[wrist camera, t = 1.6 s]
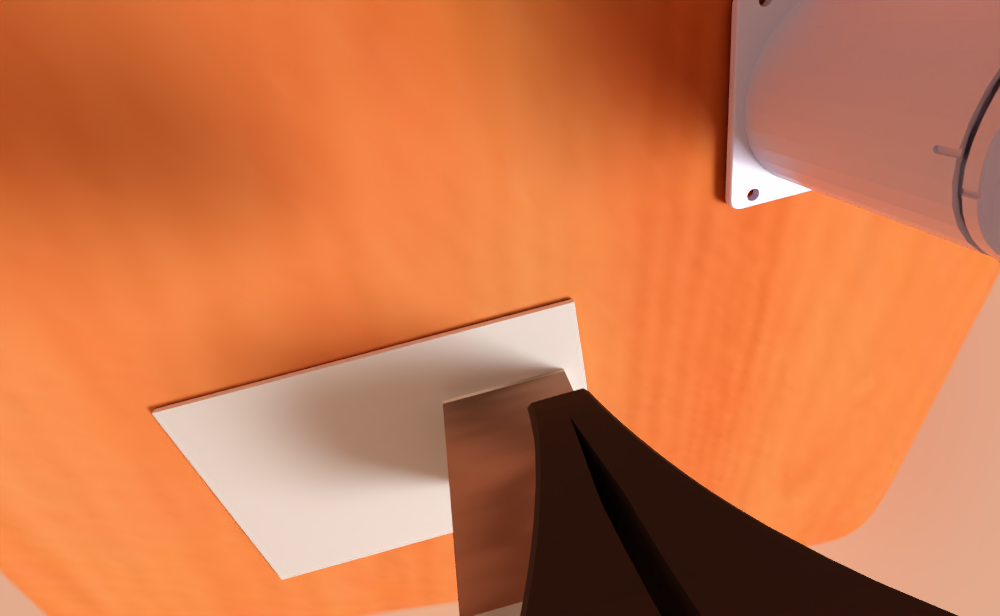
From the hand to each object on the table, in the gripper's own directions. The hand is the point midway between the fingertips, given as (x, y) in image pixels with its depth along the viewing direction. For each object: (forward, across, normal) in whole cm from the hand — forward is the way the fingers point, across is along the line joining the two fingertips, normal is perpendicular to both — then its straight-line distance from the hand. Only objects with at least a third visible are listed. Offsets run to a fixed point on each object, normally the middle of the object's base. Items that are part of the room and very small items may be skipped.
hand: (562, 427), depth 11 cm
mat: (+11, +6, +10) cm, 16 cm away
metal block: (+10, +1, +10) cm, 14 cm away
